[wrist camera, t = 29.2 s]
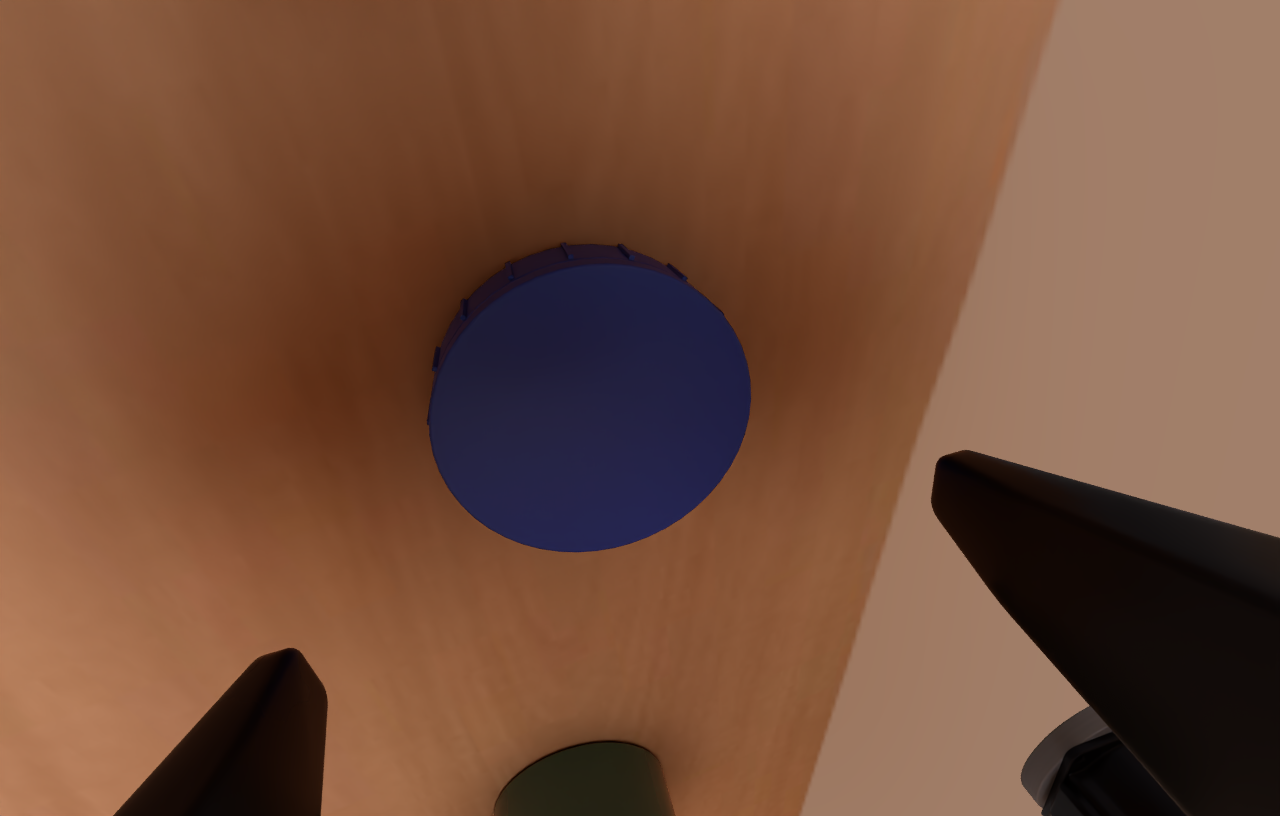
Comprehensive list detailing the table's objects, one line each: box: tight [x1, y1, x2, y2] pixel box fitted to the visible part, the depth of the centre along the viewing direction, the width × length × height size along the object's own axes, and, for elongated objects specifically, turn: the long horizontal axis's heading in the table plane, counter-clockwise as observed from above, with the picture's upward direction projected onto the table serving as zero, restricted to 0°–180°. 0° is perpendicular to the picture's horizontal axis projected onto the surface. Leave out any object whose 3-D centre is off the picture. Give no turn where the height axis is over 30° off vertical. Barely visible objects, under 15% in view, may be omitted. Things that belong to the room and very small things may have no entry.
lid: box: [427, 243, 751, 552], centre depth 13 cm, size 7×7×2 cm
